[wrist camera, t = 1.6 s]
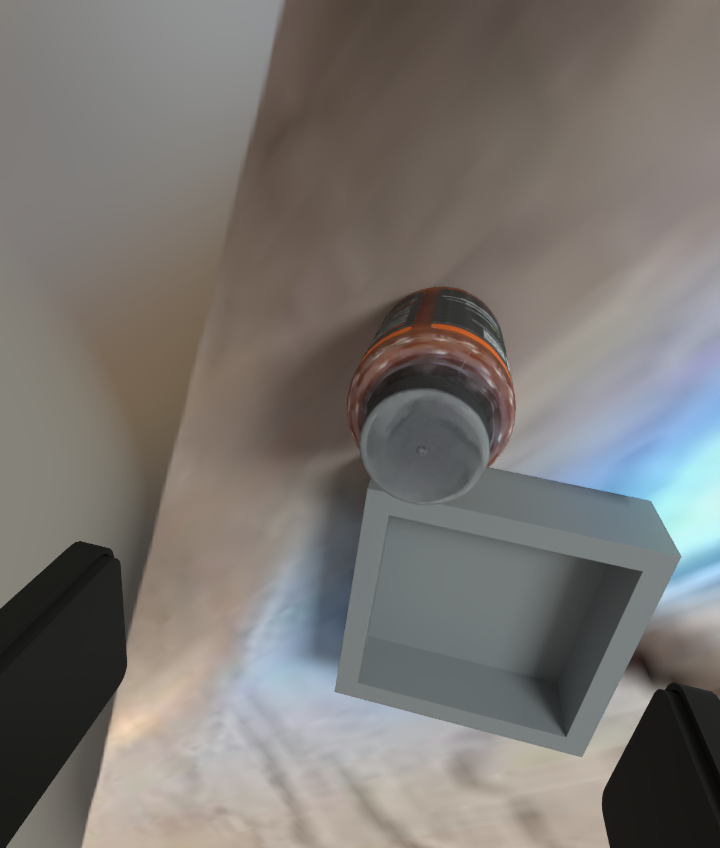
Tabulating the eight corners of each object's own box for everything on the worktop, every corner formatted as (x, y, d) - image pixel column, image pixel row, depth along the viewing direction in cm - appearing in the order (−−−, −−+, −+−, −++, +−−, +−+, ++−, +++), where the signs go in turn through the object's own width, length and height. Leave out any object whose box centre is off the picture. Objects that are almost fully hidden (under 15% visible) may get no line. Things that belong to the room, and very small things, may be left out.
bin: (382, 445, 29) (367, 488, 25) (650, 501, 27) (681, 556, 23) (350, 633, 35) (334, 691, 31) (568, 687, 33) (582, 757, 29)
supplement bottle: (365, 379, 28) (303, 495, 18) (401, 266, 25) (352, 325, 15) (476, 418, 27) (477, 558, 17) (524, 308, 25) (559, 396, 15)
